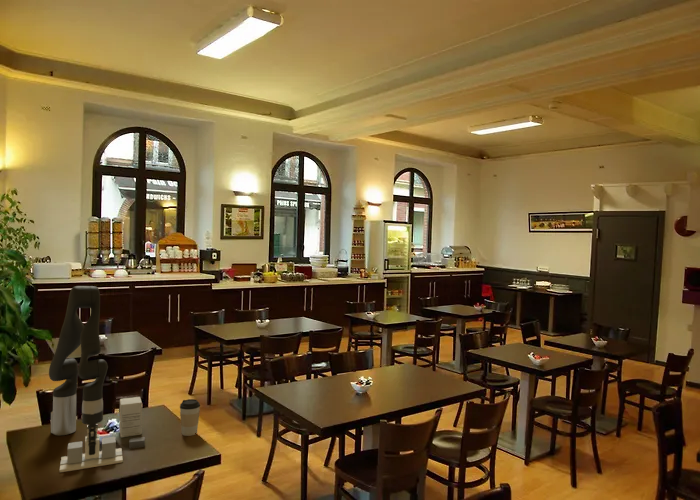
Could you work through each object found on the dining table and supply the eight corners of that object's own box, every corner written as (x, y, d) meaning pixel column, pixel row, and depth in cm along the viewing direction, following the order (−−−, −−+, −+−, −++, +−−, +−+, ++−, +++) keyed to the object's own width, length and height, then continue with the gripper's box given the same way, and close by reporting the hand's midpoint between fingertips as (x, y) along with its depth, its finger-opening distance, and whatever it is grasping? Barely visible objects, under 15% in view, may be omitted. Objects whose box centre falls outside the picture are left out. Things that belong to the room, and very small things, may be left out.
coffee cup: (201, 429, 239) (202, 397, 238) (196, 436, 230) (197, 404, 229) (182, 428, 238) (183, 397, 238) (176, 436, 229) (177, 403, 229)
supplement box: (119, 430, 234) (119, 398, 234) (140, 427, 238) (140, 396, 238) (120, 437, 226) (120, 404, 226) (141, 434, 230) (142, 402, 230)
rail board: (59, 472, 193) (59, 453, 193) (61, 459, 204) (61, 441, 204) (122, 462, 203) (122, 444, 203) (121, 450, 214) (121, 433, 213)
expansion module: (85, 459, 200) (85, 441, 199) (85, 453, 205) (85, 435, 205) (99, 457, 202) (99, 439, 202) (99, 451, 207) (99, 433, 207)
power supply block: (129, 449, 216) (129, 442, 216) (129, 445, 220) (129, 438, 219) (144, 447, 218) (144, 440, 218) (144, 443, 222) (144, 436, 222)
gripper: (82, 405, 207) (82, 445, 208) (81, 417, 195) (81, 460, 195) (102, 402, 211) (102, 442, 211) (103, 414, 198) (102, 456, 199)
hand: (92, 451), depth 203 cm, fingers closed on expansion module, 6 cm apart
